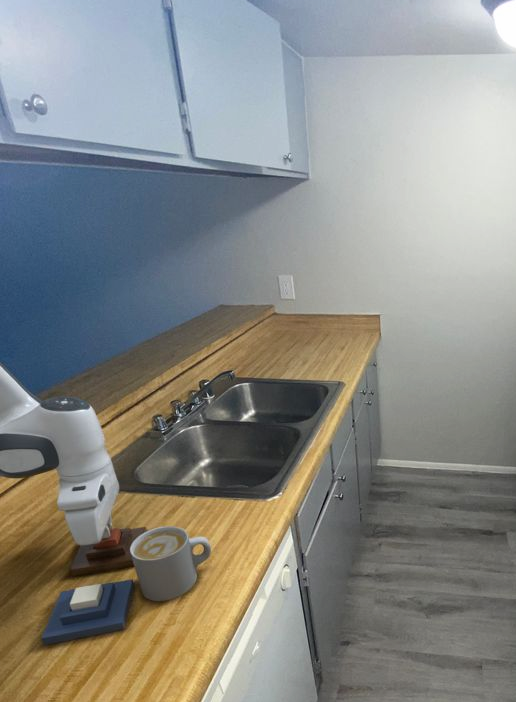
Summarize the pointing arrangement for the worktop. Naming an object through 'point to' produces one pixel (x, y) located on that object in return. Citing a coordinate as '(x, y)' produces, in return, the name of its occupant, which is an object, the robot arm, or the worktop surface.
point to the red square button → (110, 539)
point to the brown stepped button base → (106, 554)
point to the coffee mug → (167, 561)
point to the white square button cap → (86, 597)
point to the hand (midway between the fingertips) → (107, 534)
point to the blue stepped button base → (90, 614)
